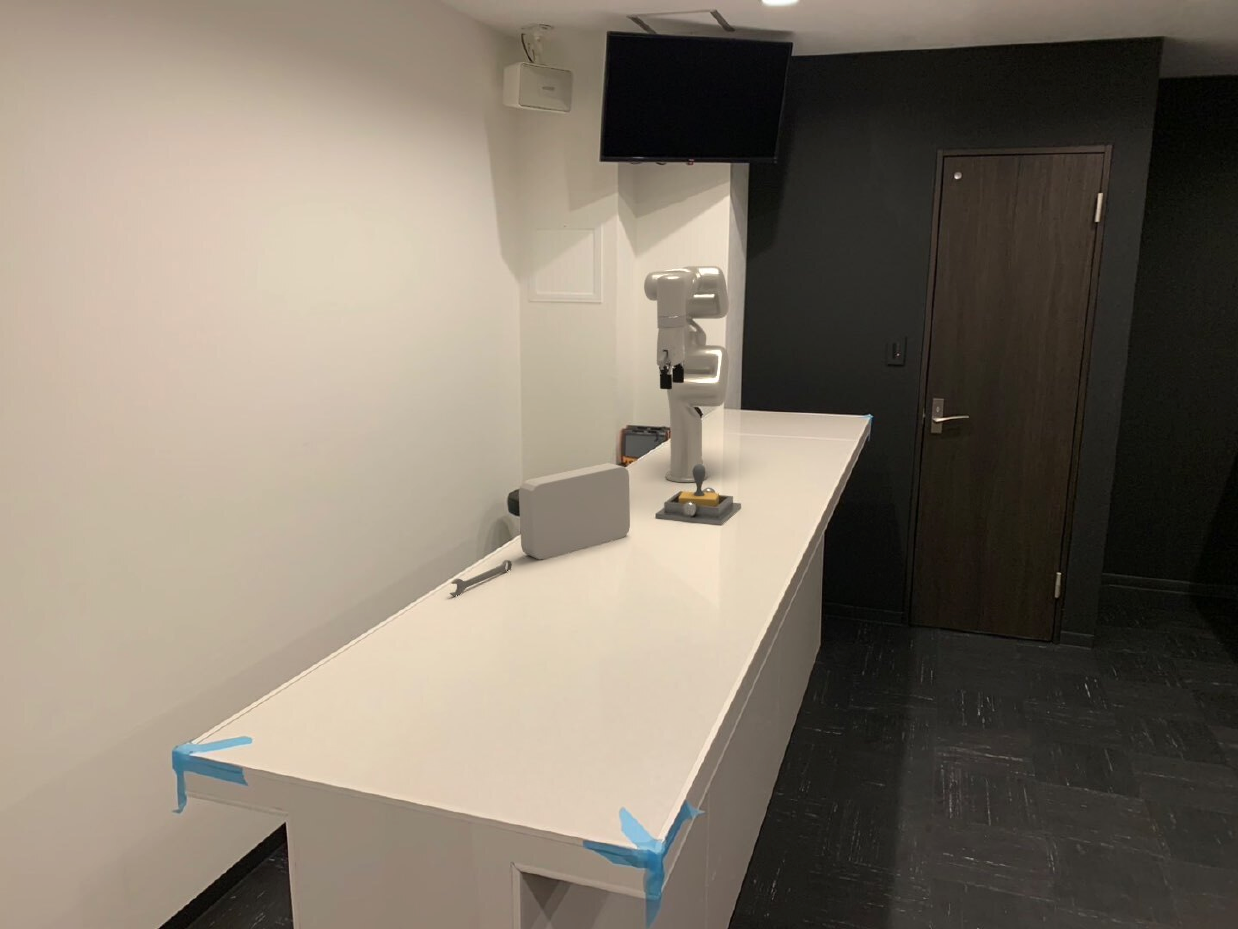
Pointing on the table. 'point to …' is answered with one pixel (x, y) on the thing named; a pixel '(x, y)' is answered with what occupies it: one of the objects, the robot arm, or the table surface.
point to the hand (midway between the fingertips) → (672, 385)
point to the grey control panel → (574, 510)
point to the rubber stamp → (699, 490)
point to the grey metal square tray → (699, 510)
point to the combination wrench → (479, 577)
